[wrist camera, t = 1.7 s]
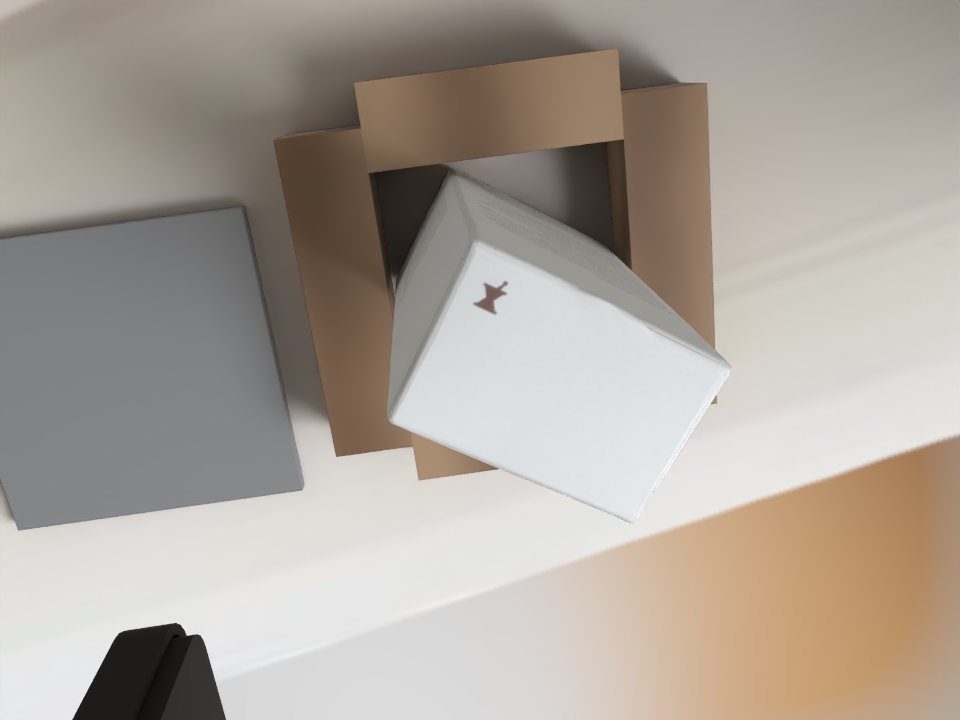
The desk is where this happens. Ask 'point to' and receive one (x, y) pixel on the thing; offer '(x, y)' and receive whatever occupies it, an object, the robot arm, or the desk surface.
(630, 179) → the box
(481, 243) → the skincare box
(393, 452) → the desk surface
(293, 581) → the desk surface
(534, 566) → the desk surface
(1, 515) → the desk surface
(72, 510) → the grey rubber mat
